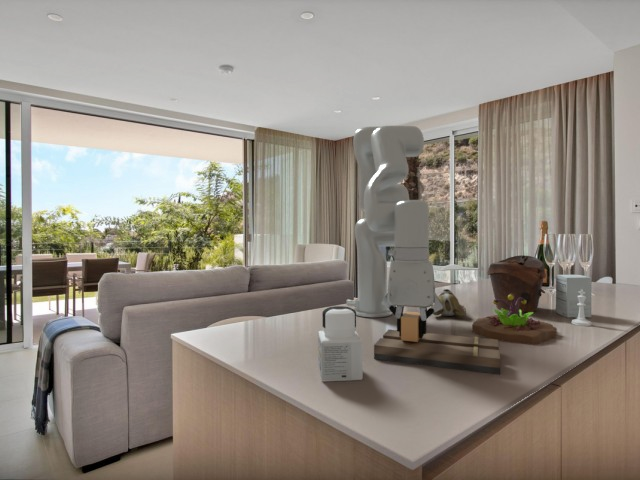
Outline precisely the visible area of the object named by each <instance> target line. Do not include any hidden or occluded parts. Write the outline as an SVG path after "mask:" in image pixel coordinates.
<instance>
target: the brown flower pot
mask: <svg viewBox="0 0 640 480" xmlns="http://www.w3.org/2000/svg"><path fill="white" fill-rule="evenodd" d="M486 274H487V275H488V276H489V278H490V283H491V286H492V291H493V295H494V296H493V297H494V299H501V300H504V301H505V302H507V303H508V304H509V305H510V306H511V302H512V300H509V299H508V295H509V294H511V293H513V294H514V296H515V302H516V301H517V299H518V298H520V297H522V298H523V299H525V300H526V304H522V302H521V300H520V301H519V309H521V313H528V312H535V311H537V310H538V308H539V304H540V303H539V301H540V298H541V297H542V293H543V294H546V291H545V290H544V289H542V288H543V287H542V286H543V282H544V279H546V277H547V275H546V269H545V264H544V262H543V261H542V260H541V259H539V258H538V257H535V256H532V255H531V256H530V255H513V256H510V257H507V258H505V259H502V260H500V261H497V262H492V263H490V265H489V266H488V270H487V273H486ZM495 306H496V308H497V310H499V311H502V310H501V309H502V308H503V309H505V310H507V311H509V310H508V307H507V306H506V305H505V304H504V303H503V302H501V301H498V304H495Z"/></svg>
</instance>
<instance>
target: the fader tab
mask: <svg viewBox="0 0 640 480" xmlns="http://www.w3.org/2000/svg"><path fill="white" fill-rule="evenodd" d="M420 317H421V316H420V311H419V312H418V311H416V312H415V311H405V312H403V315H402V317H401V340H404V341H413V342H418V340H419V339H420V338H419V320H420Z"/></svg>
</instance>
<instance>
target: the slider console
mask: <svg viewBox="0 0 640 480" xmlns="http://www.w3.org/2000/svg"><path fill="white" fill-rule="evenodd" d="M500 352H501V351H500V344H499V340H497V339H491V338H487V337H479V336H462V335H455V334H453V335H451V334H443V333H434V332H433V333H432V332H430V333H429V332H426V334H424V336H423V337H422V338H420V339H419V340H418V342H413V341H404V340H401V336H399V332H398V331H397V329H387V331H385V333H384V334H383V335H382V338H381V337H380V338H379V339H378V340H377V341H376V342H375V343H374V345H373V358H374V359H375V360H384V361H390V362H399V363H406V364H413V365H414V364H415V365H423V366H430V367H437V368H438V367H439V368H445V369H446V368H448V369H455V370H461V371H462V370H463V371H470V372H477V373H478V372H479V373H486V374H495V375H501V354H500Z"/></svg>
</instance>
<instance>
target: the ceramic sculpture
mask: <svg viewBox="0 0 640 480" xmlns="http://www.w3.org/2000/svg"><path fill="white" fill-rule="evenodd" d="M436 295H437V296H438V298H439V300H440V301H441V303H442V304H443V308H442V309H441V310H439V311H437V312H435V313H433V314H432V315H434V316H439V315H440V316H443V317H452V316H455V315H457V316H459V317H463V316H465V315H467V308H466V307H465V306H464V305H462V304H460V301H459V299H458V298H457V296H455V294H454V293H453V292H452V290H450V289H448V288H446V289H445V288H444V289H443V290H442V291H440V292H439V293H438V294H436ZM433 306H435V304H434V303H433V305H432V306H430V308H431V307H433Z"/></svg>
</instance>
